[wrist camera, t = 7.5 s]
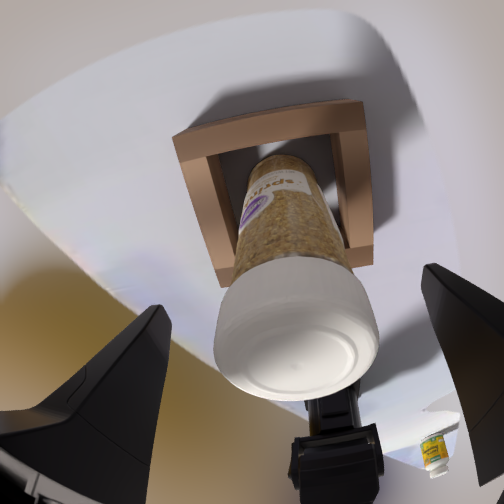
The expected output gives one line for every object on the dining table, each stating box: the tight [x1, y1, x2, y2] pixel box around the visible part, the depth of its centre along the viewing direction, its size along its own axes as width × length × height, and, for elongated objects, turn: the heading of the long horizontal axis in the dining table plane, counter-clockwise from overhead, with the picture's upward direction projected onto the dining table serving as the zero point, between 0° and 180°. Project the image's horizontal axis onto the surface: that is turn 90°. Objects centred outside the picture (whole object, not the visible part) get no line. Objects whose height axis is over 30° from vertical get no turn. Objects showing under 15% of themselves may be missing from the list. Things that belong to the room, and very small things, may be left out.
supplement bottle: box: [420, 433, 449, 479], centre depth 39 cm, size 5×5×10 cm
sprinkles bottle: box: [213, 154, 379, 401], centre depth 13 cm, size 5×5×14 cm
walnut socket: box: [172, 99, 373, 288], centre depth 17 cm, size 10×10×3 cm
